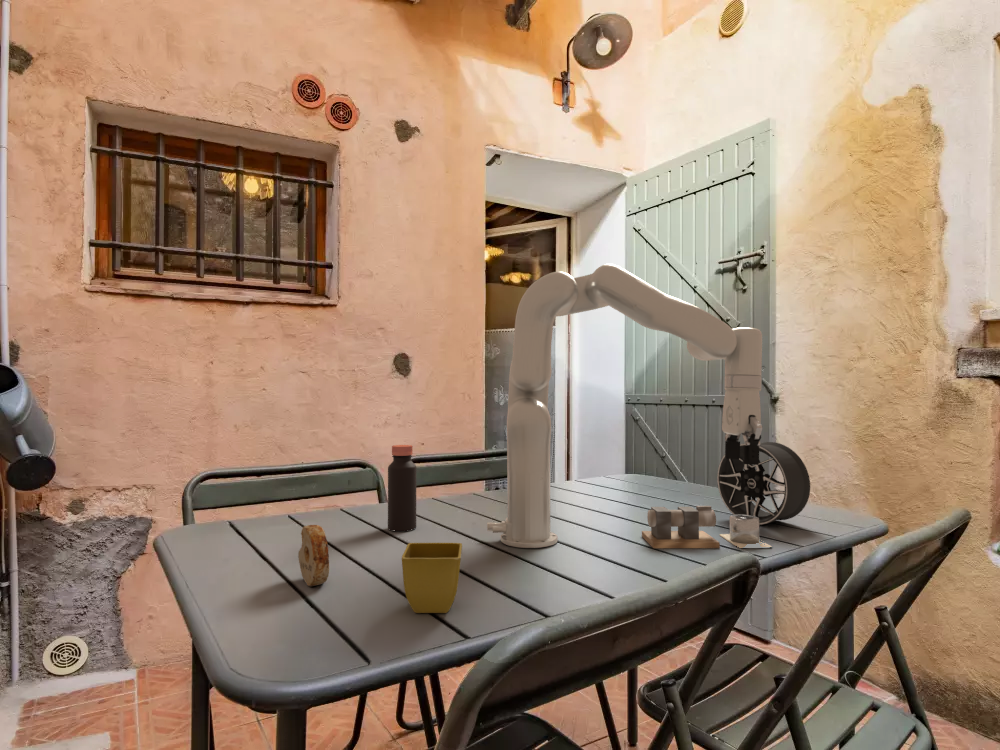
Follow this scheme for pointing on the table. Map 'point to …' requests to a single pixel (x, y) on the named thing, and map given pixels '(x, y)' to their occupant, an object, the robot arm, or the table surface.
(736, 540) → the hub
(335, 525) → the table surface
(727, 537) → the mat
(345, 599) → the table surface
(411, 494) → the bottle
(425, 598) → the flower pot
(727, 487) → the wheel rim
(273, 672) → the table surface
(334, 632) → the table surface
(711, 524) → the shaft stand
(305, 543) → the stone disc
